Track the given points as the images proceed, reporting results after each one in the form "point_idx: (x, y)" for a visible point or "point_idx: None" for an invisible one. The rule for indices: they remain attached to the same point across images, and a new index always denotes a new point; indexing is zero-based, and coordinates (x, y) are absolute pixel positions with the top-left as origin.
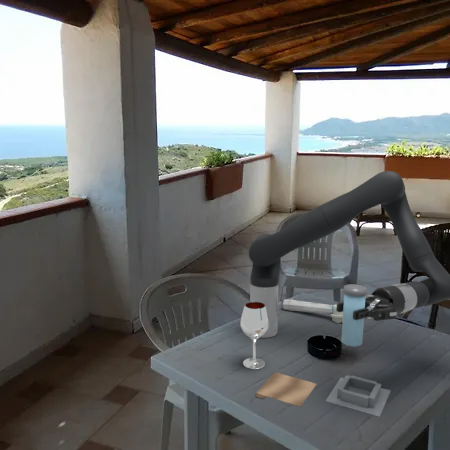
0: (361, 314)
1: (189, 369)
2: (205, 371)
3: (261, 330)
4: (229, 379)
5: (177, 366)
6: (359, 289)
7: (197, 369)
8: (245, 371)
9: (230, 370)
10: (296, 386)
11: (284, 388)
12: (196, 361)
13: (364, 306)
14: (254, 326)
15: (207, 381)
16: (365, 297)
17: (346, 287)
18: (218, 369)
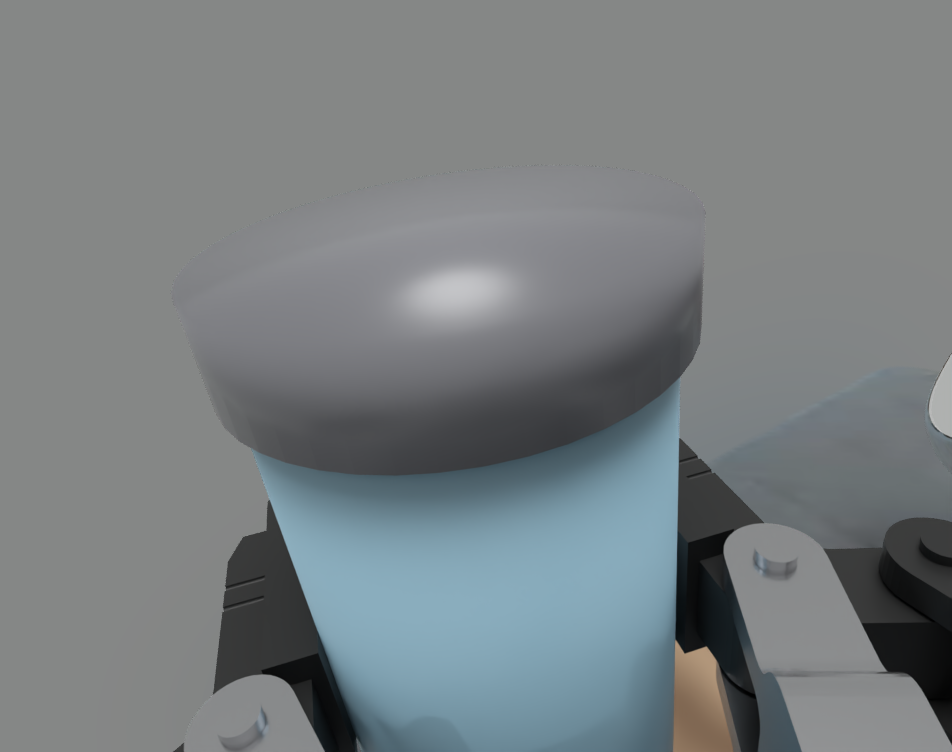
0: (230, 582)
1: (835, 425)
2: (830, 459)
3: (948, 449)
4: (777, 516)
5: (850, 401)
6: (311, 253)
7: (841, 441)
8: None
9: (861, 526)
10: (696, 745)
11: (676, 680)
12: (911, 440)
13: (333, 644)
14: (933, 400)
15: (752, 461)
16: (327, 533)
17: (499, 176)
18: (859, 492)
